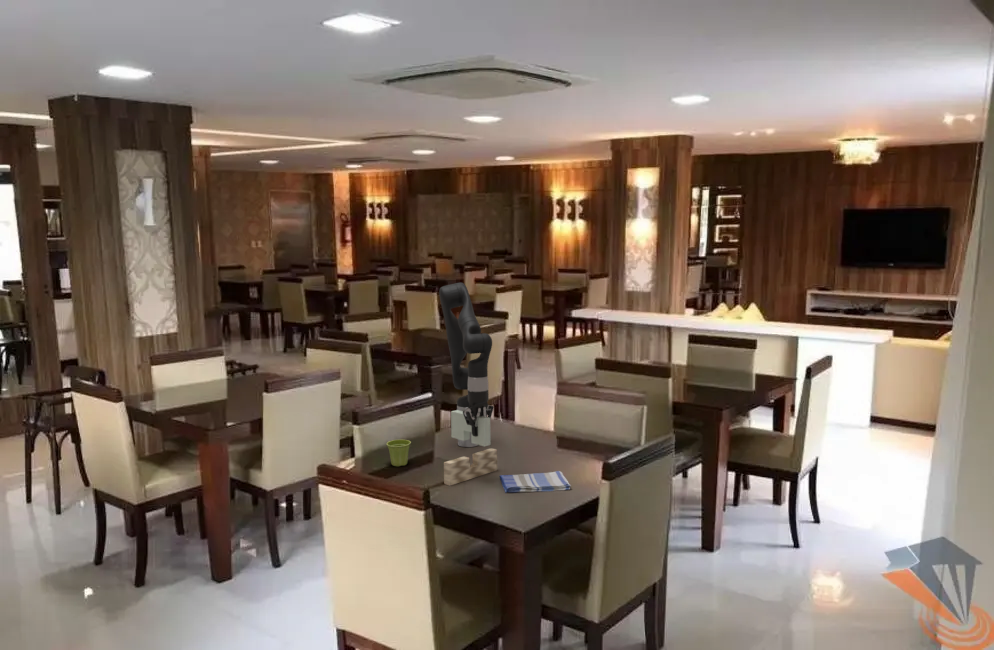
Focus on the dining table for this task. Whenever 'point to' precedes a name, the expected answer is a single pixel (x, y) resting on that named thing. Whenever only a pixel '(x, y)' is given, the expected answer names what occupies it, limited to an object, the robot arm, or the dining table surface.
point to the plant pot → (399, 451)
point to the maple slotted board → (470, 466)
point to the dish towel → (535, 482)
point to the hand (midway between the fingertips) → (478, 434)
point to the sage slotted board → (470, 429)
